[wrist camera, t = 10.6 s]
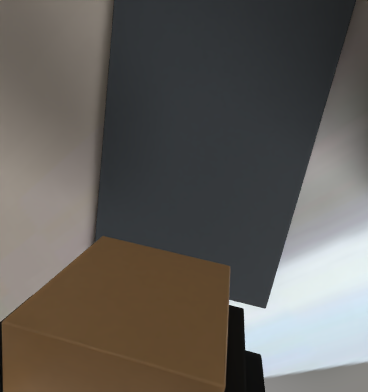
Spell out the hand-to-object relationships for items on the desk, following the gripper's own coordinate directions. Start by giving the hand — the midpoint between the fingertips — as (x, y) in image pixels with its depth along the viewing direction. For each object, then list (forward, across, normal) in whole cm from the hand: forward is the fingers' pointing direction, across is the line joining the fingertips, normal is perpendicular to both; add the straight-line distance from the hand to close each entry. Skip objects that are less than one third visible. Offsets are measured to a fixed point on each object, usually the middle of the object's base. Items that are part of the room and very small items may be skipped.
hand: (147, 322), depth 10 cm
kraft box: (+1, 0, 0) cm, 1 cm away
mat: (+8, 0, -6) cm, 11 cm away
